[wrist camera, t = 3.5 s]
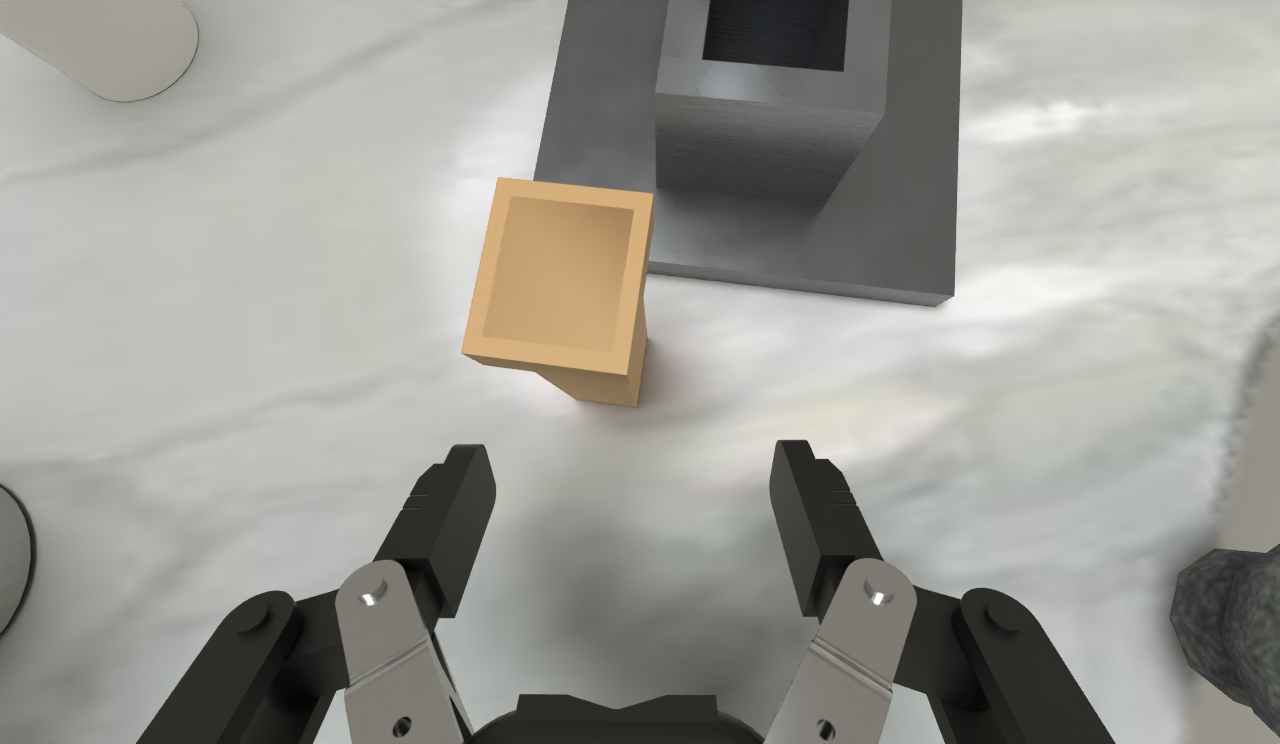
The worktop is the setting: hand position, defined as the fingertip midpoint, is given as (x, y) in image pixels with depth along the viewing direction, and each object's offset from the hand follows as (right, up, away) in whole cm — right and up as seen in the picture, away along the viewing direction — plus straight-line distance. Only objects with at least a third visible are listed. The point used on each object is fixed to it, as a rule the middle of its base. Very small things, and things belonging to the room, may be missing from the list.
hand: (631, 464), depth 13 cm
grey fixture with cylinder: (+6, +18, +12) cm, 22 cm away
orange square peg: (-1, +3, +10) cm, 10 cm away
